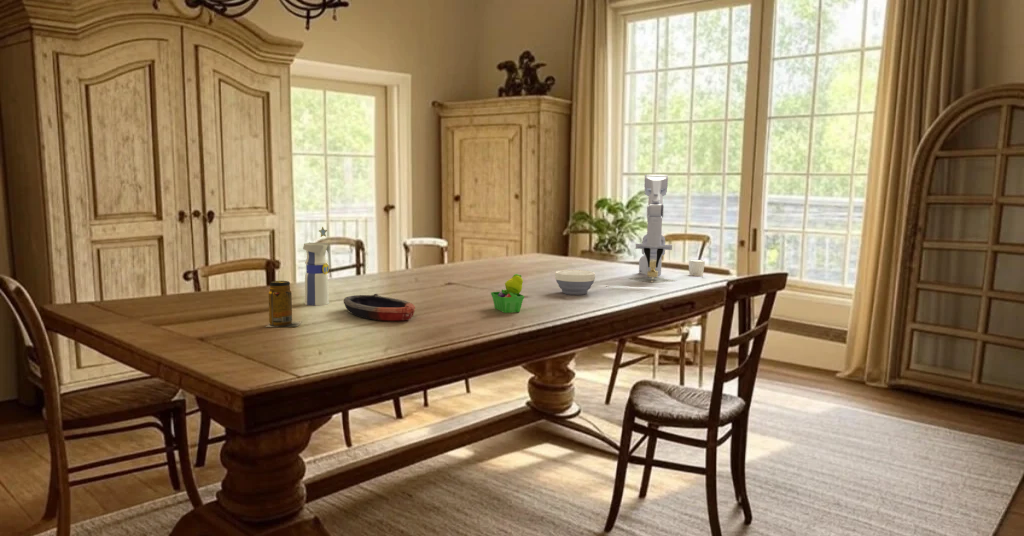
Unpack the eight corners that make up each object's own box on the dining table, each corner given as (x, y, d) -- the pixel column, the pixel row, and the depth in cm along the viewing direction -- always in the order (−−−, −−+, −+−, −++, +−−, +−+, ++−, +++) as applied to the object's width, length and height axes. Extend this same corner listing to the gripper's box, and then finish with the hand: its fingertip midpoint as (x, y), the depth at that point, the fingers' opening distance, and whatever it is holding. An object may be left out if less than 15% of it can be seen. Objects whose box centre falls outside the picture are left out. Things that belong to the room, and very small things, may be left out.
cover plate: (627, 280, 294) (627, 278, 294) (653, 278, 301) (653, 276, 301) (651, 285, 282) (651, 282, 282) (677, 283, 289) (677, 280, 289)
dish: (374, 306, 229) (374, 290, 228) (431, 321, 206) (431, 304, 206) (330, 311, 218) (330, 295, 218) (384, 327, 196) (384, 309, 195)
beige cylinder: (687, 277, 309) (688, 260, 308) (688, 275, 316) (689, 259, 315) (703, 277, 307) (704, 261, 306) (704, 275, 314) (705, 260, 313)
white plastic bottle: (335, 302, 234) (334, 225, 231) (322, 306, 226) (320, 227, 222) (313, 300, 236) (312, 224, 233) (299, 304, 228) (297, 226, 225)
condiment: (271, 322, 200) (270, 279, 199) (302, 322, 201) (301, 279, 199) (264, 327, 193) (263, 283, 191) (297, 327, 194) (296, 283, 192)
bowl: (581, 297, 250) (581, 276, 249) (546, 293, 258) (547, 272, 257) (602, 293, 261) (602, 272, 260) (568, 288, 270) (569, 268, 269)
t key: (657, 277, 286) (657, 261, 286) (647, 277, 287) (647, 261, 286) (657, 274, 295) (658, 259, 294) (648, 274, 296) (648, 259, 295)
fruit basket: (489, 307, 228) (489, 272, 227) (515, 306, 231) (516, 271, 230) (501, 314, 217) (502, 277, 216) (528, 312, 220) (529, 276, 219)
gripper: (635, 233, 287) (634, 267, 289) (672, 235, 283) (671, 269, 285) (636, 232, 294) (635, 265, 295) (672, 233, 290) (671, 266, 292)
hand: (652, 267), depth 291 cm, fingers closed on t key, 2 cm apart
